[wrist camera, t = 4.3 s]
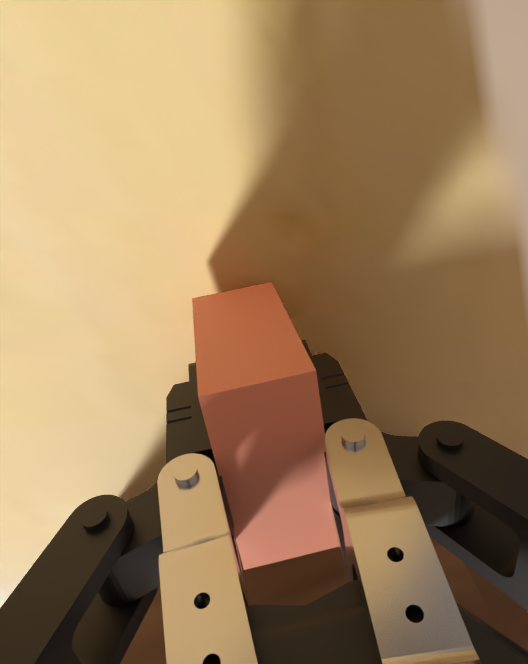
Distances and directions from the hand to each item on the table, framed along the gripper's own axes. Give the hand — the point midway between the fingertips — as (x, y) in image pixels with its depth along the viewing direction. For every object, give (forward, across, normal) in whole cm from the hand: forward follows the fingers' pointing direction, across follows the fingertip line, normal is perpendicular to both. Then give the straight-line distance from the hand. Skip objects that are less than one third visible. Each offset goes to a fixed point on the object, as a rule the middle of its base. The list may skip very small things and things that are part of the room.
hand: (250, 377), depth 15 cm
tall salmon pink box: (+1, 0, 0) cm, 1 cm away
